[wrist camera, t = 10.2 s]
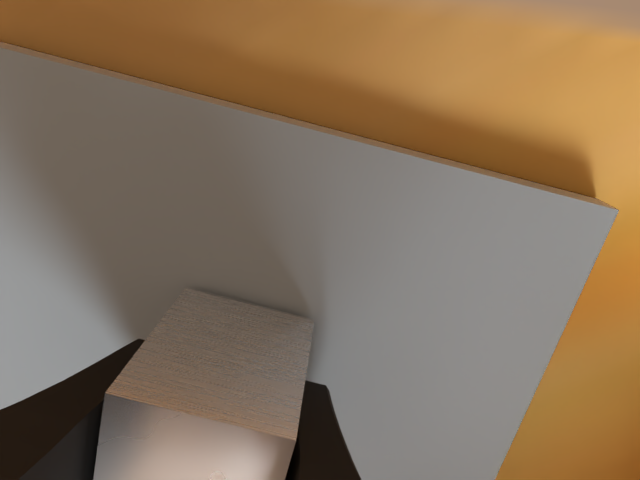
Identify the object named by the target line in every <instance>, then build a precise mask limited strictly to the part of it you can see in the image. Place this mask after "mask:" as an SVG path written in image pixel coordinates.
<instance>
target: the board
mask: <svg viewBox="0 0 640 480" xmlns="http://www.w3.org/2000/svg"><path fill="white" fill-rule="evenodd" d="M618 211H619V210H618V209H616V208H614V207H612V206H610V205H608V204H606V203H604V202H602V201H601V200H599V199H596V198H592V197H589V196H585V195H581V194H577V193H573V192H570V191H566V190H562V189H558V188H554V187H551V186H547V185H543V184H539V183H536V182H532V181H528V180H524V179H520V178H517V177H513V176H509V175H505V174H501V173H498V172H494V171H490V170H486V169H482V168H479V167H475V166H471V165H467V164H463V163H460V162H456V161H452V160H448V159H444V158H441V157H437V156H433V155H429V154H425V153H422V152H418V151H414V150H410V149H406V148H403V147H399V146H395V145H391V144H387V143H384V142H380V141H376V140H372V139H369V138H365V137H361V136H357V135H353V134H350V133H346V132H342V131H338V130H334V129H331V128H327V127H323V126H319V125H315V124H312V123H308V122H304V121H300V120H296V119H293V118H289V117H285V116H281V115H277V114H274V113H270V112H266V111H262V110H258V109H255V108H251V107H247V106H243V105H239V104H236V103H232V102H228V101H224V100H220V99H217V98H213V97H209V96H205V95H201V94H198V93H194V92H190V91H186V90H183V89H179V88H175V87H171V86H167V85H164V84H160V83H156V82H152V81H148V80H145V79H141V78H137V77H133V76H129V75H126V74H122V73H118V72H114V71H110V70H107V69H103V68H99V67H95V66H91V65H88V64H84V63H80V62H76V61H72V60H69V59H65V58H61V57H57V56H53V55H50V54H46V53H42V52H38V51H34V50H31V49H27V48H23V47H19V46H16V45H12V44H8V43H4V42H0V410H1V409H3V408H5V407H8V406H10V405H13V404H15V403H17V402H19V401H22V400H24V399H26V398H28V397H30V396H32V395H34V394H36V393H38V392H40V391H42V390H44V389H47V388H49V387H51V386H53V385H55V384H57V383H59V382H61V381H63V380H65V379H67V378H69V377H70V376H72V375H74V374H76V373H78V372H80V371H81V370H83V369H85V368H87V367H89V366H91V365H92V364H94V363H96V362H98V361H99V360H101V359H103V358H105V357H107V356H108V355H110V354H112V353H113V352H115V351H117V350H119V349H120V348H122V347H124V346H126V345H128V344H129V343H131V342H133V341H135V340H137V339H143V340H146V339H147V337H148V336H149V335H150V333H151V332H152V331H153V329H154V328H155V327H156V325H157V324H158V323H159V322H160V320H161V319H162V318H163V316H164V315H165V314H166V312H167V311H168V310H169V309H170V307H171V306H172V305H173V303H174V302H175V301H176V299H177V298H178V297H179V295H180V294H181V293H182V292H183V290H184V289H185V288H186V287H187V288H191V289H195V290H199V291H203V292H207V293H210V294H214V295H218V296H222V297H226V298H230V299H234V300H238V301H242V302H246V303H250V304H254V305H258V306H261V307H265V308H269V309H273V310H277V311H281V312H285V313H289V314H293V315H297V316H301V317H305V318H309V319H312V320H314V326H313V333H312V339H311V346H310V352H309V359H308V366H307V372H306V379H305V380H307V381H311V382H315V383H319V384H322V385H326V386H327V388H328V389H329V391H330V396H331V400H332V404H333V407H334V411H335V414H336V417H337V420H338V423H339V426H340V429H341V432H342V435H343V437H344V440H345V442H346V445H347V447H348V450H349V452H350V455H351V457H352V460H353V462H354V464H355V467H356V469H357V471H358V473H359V475H360V477H361V480H495V478H496V476H497V474H498V472H499V470H500V467H501V465H502V463H503V461H504V459H505V457H506V454H507V452H508V450H509V448H510V446H511V444H512V441H513V439H514V437H515V435H516V433H517V431H518V428H519V426H520V424H521V422H522V420H523V418H524V415H525V413H526V411H527V409H528V407H529V405H530V402H531V400H532V398H533V396H534V394H535V391H536V389H537V387H538V385H539V383H540V381H541V378H542V376H543V374H544V372H545V370H546V368H547V365H548V363H549V361H550V359H551V357H552V355H553V352H554V350H555V348H556V346H557V344H558V342H559V339H560V337H561V335H562V333H563V331H564V329H565V326H566V324H567V322H568V320H569V318H570V316H571V313H572V311H573V309H574V307H575V305H576V303H577V300H578V298H579V296H580V294H581V292H582V289H583V287H584V285H585V283H586V281H587V279H588V276H589V274H590V272H591V270H592V268H593V266H594V263H595V261H596V259H597V257H598V255H599V253H600V250H601V248H602V246H603V244H604V242H605V240H606V237H607V235H608V233H609V231H610V229H611V227H612V224H613V222H614V220H615V218H616V216H617V214H618Z"/></svg>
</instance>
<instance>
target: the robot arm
mask: <svg viewBox="0 0 640 480" xmlns="http://www.w3.org/2000/svg"><path fill="white" fill-rule="evenodd" d="M144 341H145V340H143V339H137V340H135V341H133V342H131V343H129V344H128V345H126V346H124V347H122V348H120V349H119V350H117V351H115V352H113V353H112V354H110V355H108V356H107V357H105V358H103V359H101V360H99V361H98V362H96V363H94V364H92V365H91V366H89V367H87V368H85V369H83V370H81V371H80V372H78V373H76V374H74V375H72V376H70V377H69V378H67V379H65V380H63V381H61V382H59V383H57V384H55V385H53V386H51V387H49V388H47V389H44V390H42V391H40V392H38V393H36V394H34V395H32V396H30V397H28V398H26V399H24V400H22V401H19V402H17V403H15V404H13V405H10V406H8V407H5V408H3V409H1V410H0V480H93V477H94V470H95V462H96V455H97V447H98V440H99V432H100V425H101V418H102V410H103V403H104V395H105V392H106V391H107V390H108V388H109V387H110V386H111V384H112V383H113V382H114V380H115V379H116V378H117V376H118V375H119V374H120V373H121V371H122V370H123V369H124V367H125V366H126V365H127V363H128V362H129V361H130V359H131V358H132V357H133V356H134V354H135V353H136V352H137V350H138V349H139V348H140V346H141V345H142V344H143V342H144ZM285 480H361V477H360V475H359V473H358V471H357V469H356V467H355V464H354V462H353V460H352V457H351V455H350V452H349V450H348V447H347V445H346V442H345V440H344V437H343V435H342V432H341V429H340V426H339V423H338V420H337V417H336V414H335V411H334V407H333V404H332V400H331V396H330V391H329V389H328V388H327V386H326V385H322V384H319V383H315V382H311V381H307V380H305V385H304V392H303V398H302V405H301V412H300V418H299V425H298V431H297V438H296V443H295V446H294V450H293V453H292V457H291V460H290V463H289V467H288V470H287V474H286V477H285Z"/></svg>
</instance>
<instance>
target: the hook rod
mask: <svg viewBox="0 0 640 480" xmlns="http://www.w3.org/2000/svg"><path fill="white" fill-rule="evenodd" d="M313 326H314V320H312V319H309V318H305V317H301V316H297V315H293V314H289V313H285V312H281V311H277V310H273V309H269V308H265V307H261V306H258V305H254V304H250V303H246V302H242V301H238V300H234V299H230V298H226V297H222V296H218V295H214V294H210V293H207V292H203V291H199V290H195V289H191V288H187V287H186V288H185V289H184V290H183V292H182V293H181V294H180V295H179V297H178V298H177V299H176V301H175V302H174V303H173V305H172V306H171V307H170V309H169V310H168V311H167V312H166V314H165V315H164V316H163V318H162V319H161V320H160V322H159V323H158V324H157V325H156V327H155V328H154V329H153V331H152V332H151V333H150V335H149V336H148V337H147V339H146V340H145V341H144V342H143V344H142V345H141V346H140V348H139V349H138V350H137V352H136V353H135V354H134V356H133V357H132V358H131V359H130V361H129V362H128V363H127V365H126V366H125V367H124V369H123V370H122V371H121V373H120V374H119V375H118V376H117V378H116V379H115V380H114V382H113V383H112V384H111V386H110V387H109V388H108V390H107V391H106V392H105V395H104V403H103V410H102V418H101V425H100V432H99V440H98V447H97V455H96V462H95V470H94V477H93V480H285V477H286V474H287V470H288V467H289V463H290V460H291V457H292V453H293V450H294V446H295V443H296V438H297V431H298V425H299V418H300V412H301V405H302V398H303V392H304V385H305V379H306V372H307V366H308V359H309V352H310V346H311V339H312V333H313Z"/></svg>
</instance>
